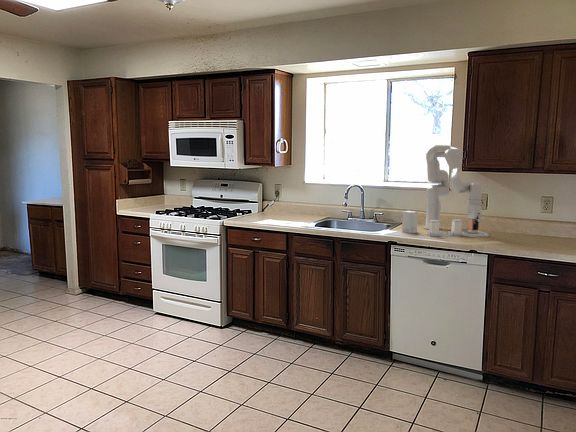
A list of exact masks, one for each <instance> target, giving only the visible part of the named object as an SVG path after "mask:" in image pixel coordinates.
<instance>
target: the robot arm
mask: <svg viewBox="0 0 576 432" xmlns="http://www.w3.org/2000/svg"><path fill="white" fill-rule="evenodd" d="M463 152H464V151H463V150H462V149H461V148H457V147H454V146H452V145H446V144H445V145H444V144H436V145H435V144H434V145H431V146H429V147H428V148H427V150H426V153H425V160H426V165H427V166H426V167H427V168H426V170H427V171H426V172H427V181H428V183H431V184H432V185H429V186H428V187H427V188H426V190H425V194H426V215H425V216H426V218H425V225H424V226H423V229H425V230H426V229H427V230H429V220H438V221H439V231H440V230H442V226H440V223H441V207H442V206H441V200H440V199H442V198H443V199H445V198H446V197H448V196H449V194H450V184H451V185H452V186H451V187H452V188H453V190H454V191H455V192H456V193H457V194H469V195H468V196H469V197H468V206H467V210H466V217H467V219H468V220H469V218H470V219H474V224H473V230H478V224H479V225H480V222H481V221H482V198H483V197H482V196H483V195H482V194H483V184H482V183H481V182H472V181H462V180H461V177H460V173H461V171H463V170H462V164H463V162H462V160H463V159H464V158H463ZM438 158H444V159H445V161H446V163H447V165H448V168H449V169H450V172H451V174H450V176H449V173H448V172H447V170H445V169H441V168H440V161H439V159H438ZM462 158H463V159H462ZM450 182H451V183H450ZM476 218H477V219H476Z"/></svg>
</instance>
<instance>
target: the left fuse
mask: <svg viewBox="0 0 576 432" xmlns="http://www.w3.org/2000/svg"><path fill="white" fill-rule="evenodd" d="M428 231H429V232H431V236H439V231H440V230H439V221H438V220H429V229H428Z"/></svg>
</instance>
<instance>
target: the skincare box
mask: <svg viewBox="0 0 576 432" xmlns="http://www.w3.org/2000/svg"><path fill="white" fill-rule="evenodd" d="M401 223H402V232H404V233H409V234H414V233H415V234H416V233H418V211H414V210H405V211H404V210H403V211H402V222H401Z"/></svg>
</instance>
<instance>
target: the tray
mask: <svg viewBox="0 0 576 432" xmlns="http://www.w3.org/2000/svg"><path fill="white" fill-rule="evenodd" d="M462 235H464V237H468V238H470V237H471V238H476V237H479V238H481V237H489V233H486V232H483V231H480V230H479V231H478V232H469V231H468V229H467V230H462Z"/></svg>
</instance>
